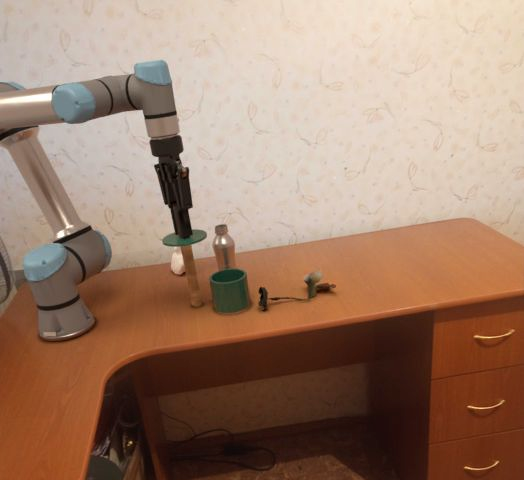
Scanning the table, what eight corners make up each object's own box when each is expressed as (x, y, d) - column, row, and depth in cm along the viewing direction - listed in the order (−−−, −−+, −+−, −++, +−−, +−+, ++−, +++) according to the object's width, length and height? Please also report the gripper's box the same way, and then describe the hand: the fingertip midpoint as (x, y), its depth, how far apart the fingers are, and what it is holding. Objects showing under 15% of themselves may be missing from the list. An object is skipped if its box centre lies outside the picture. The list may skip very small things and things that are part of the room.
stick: (190, 306, 156) (177, 240, 146) (197, 302, 158) (185, 237, 148) (196, 308, 154) (184, 242, 144) (204, 304, 156) (192, 238, 146)
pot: (207, 309, 153) (201, 278, 148) (232, 295, 159) (228, 266, 154) (232, 318, 146) (227, 286, 141) (258, 303, 152) (254, 272, 148)
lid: (154, 244, 136) (146, 209, 131) (188, 231, 142) (181, 197, 138) (181, 251, 128) (174, 214, 124) (216, 237, 135) (210, 201, 131)
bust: (187, 282, 178) (203, 252, 175) (167, 273, 174) (182, 243, 171) (180, 270, 188) (195, 242, 185) (161, 262, 184) (175, 233, 181)
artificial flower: (255, 308, 153) (253, 273, 150) (329, 300, 157) (328, 266, 155) (262, 312, 144) (260, 275, 142) (340, 304, 149) (339, 268, 147)
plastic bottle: (238, 294, 159) (229, 229, 149) (217, 294, 161) (206, 230, 151) (243, 285, 165) (235, 222, 155) (223, 285, 166) (212, 223, 156)
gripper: (196, 134, 119) (213, 236, 131) (163, 131, 130) (181, 225, 142) (166, 141, 115) (186, 245, 127) (135, 137, 127) (156, 233, 139)
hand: (184, 234), depth 135 cm, fingers closed on lid, 3 cm apart
